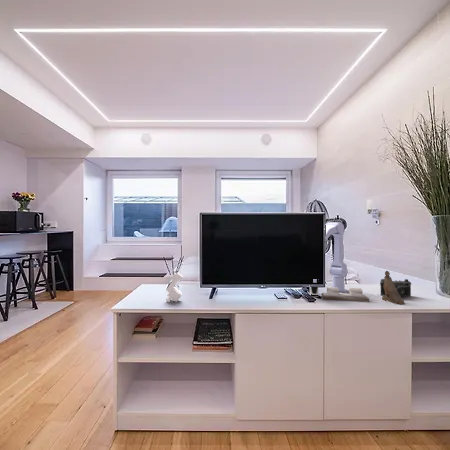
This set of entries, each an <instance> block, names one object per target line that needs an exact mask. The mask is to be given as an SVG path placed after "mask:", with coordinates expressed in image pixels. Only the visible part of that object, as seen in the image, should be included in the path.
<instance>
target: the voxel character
mask: <svg viewBox="0 0 450 450" xmlns="http://www.w3.org/2000/svg"><path fill="white" fill-rule="evenodd" d="M169 277H170V281H171V283H170V284H169V286H168V287H167V288H166V289H165V290H166V292H168V294H167V298H166V299H165V301H166V302H168V303H170V302H171V301H174V302H176V303H177V302H178V301H179V300H180V298H181V296H182V295H183V292H182V291H181V290H180V289H178V288H177V287H176V285H177V284H178V282H181V280H182V278H184V276H183V275H182V274H181V273H179V272H175V273H174V274H170V275H169Z"/></svg>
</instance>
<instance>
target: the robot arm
mask: <svg viewBox="0 0 450 450" xmlns="http://www.w3.org/2000/svg"><path fill="white" fill-rule="evenodd" d="M325 225H326V241H327V240H328V239H329V237H330V236H331V235H332V236H333V237H334V240H333V241H334V242H333V243H334V244H333V261H332V262H331V263H330V267H329V274H330V275H331V278H332V281H331V282H332V287H338V289H339V293H340V292H341V293H342V292H343V293H344V292H345V293H347V290H346V289H345V287H346V286H345V284H346V282H345V280H346V279H345V278H346V277H347V276H348V267H347V266H348V265H347V264H346V263H345V261H344V235H345V225H344V224H343V223H342V222H341V221H339V222H333V221H332V222H331V221H328V222H326V223H325ZM313 283H317V279H313ZM311 288H312V293H313V294H316V293H317V288H318V289H319V286H318V287H311Z"/></svg>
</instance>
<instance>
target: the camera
mask: <svg viewBox="0 0 450 450" xmlns="http://www.w3.org/2000/svg"><path fill="white" fill-rule="evenodd" d="M392 281H393V284H394V285H395V287H396V289H397V291H398V293H399V295H400V296H401V298H403V297H411V296H412V291H411V290H412V289H411V287H412V282H411V281H409V279H406V278H405V279H404V280H392ZM384 283H385V279H384V278H381V279H380V281H379V286H380V296H381V297H383V296H386V294H385V290H384Z"/></svg>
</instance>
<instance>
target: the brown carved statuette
mask: <svg viewBox="0 0 450 450" xmlns="http://www.w3.org/2000/svg"><path fill="white" fill-rule="evenodd" d="M384 275H385V276H384V278H383V279H385V283H384V290H385V294H386V296H381V300H383V301H387V302H389V303H392V304H394V305H395V304H396V305H405V300H404V299H403V297H401V296H400V295H399V293H398V291H397V289H396V287H395V285H394V284H393V281H394V280H393V279H392V277H391V276H390V271H388V270H386V271H385V272H384Z"/></svg>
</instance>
